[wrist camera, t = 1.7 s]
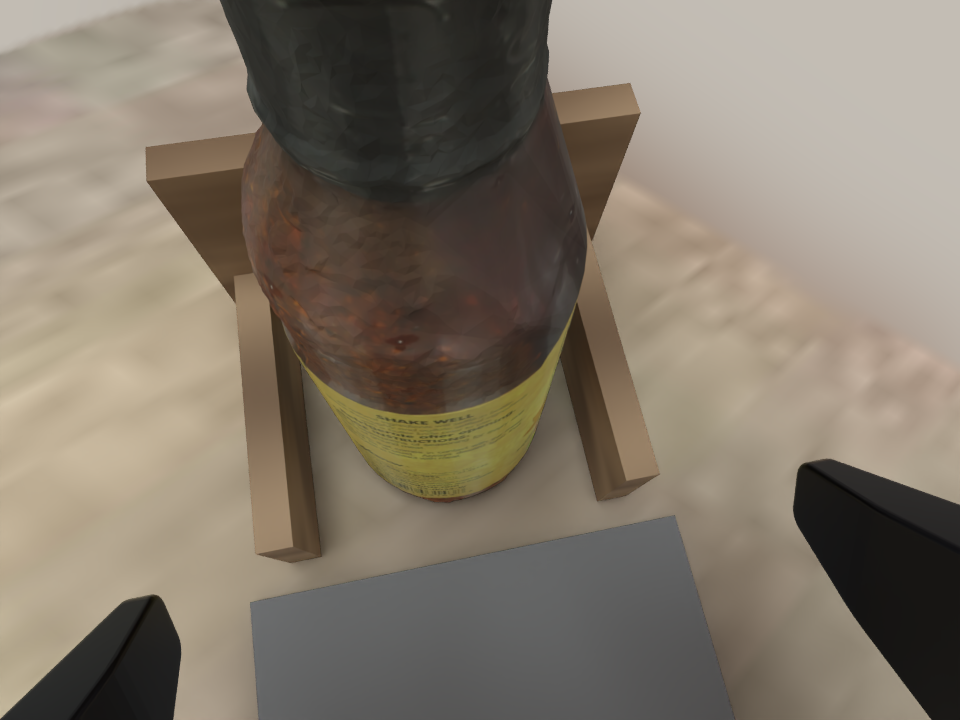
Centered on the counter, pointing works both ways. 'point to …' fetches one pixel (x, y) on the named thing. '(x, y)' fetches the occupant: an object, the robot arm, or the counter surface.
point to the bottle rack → (276, 368)
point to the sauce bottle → (414, 222)
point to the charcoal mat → (500, 638)
